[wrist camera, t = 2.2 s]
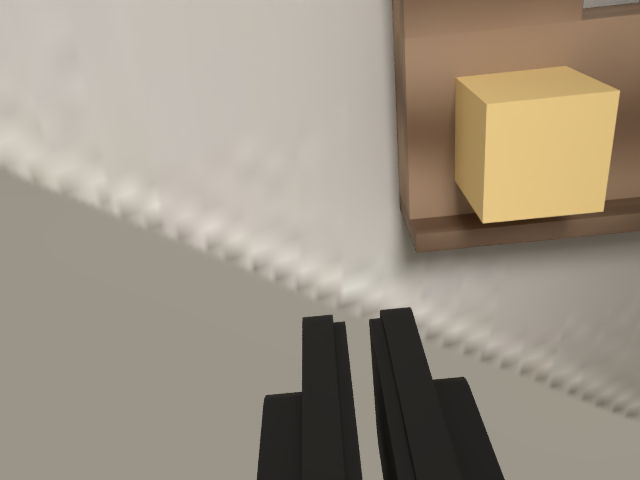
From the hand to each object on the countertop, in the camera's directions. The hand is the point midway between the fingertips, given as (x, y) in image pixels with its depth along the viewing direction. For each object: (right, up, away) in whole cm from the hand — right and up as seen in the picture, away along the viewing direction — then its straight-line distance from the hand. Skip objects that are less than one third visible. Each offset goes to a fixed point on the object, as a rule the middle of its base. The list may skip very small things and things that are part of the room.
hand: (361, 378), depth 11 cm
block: (+7, +7, +12) cm, 16 cm away
